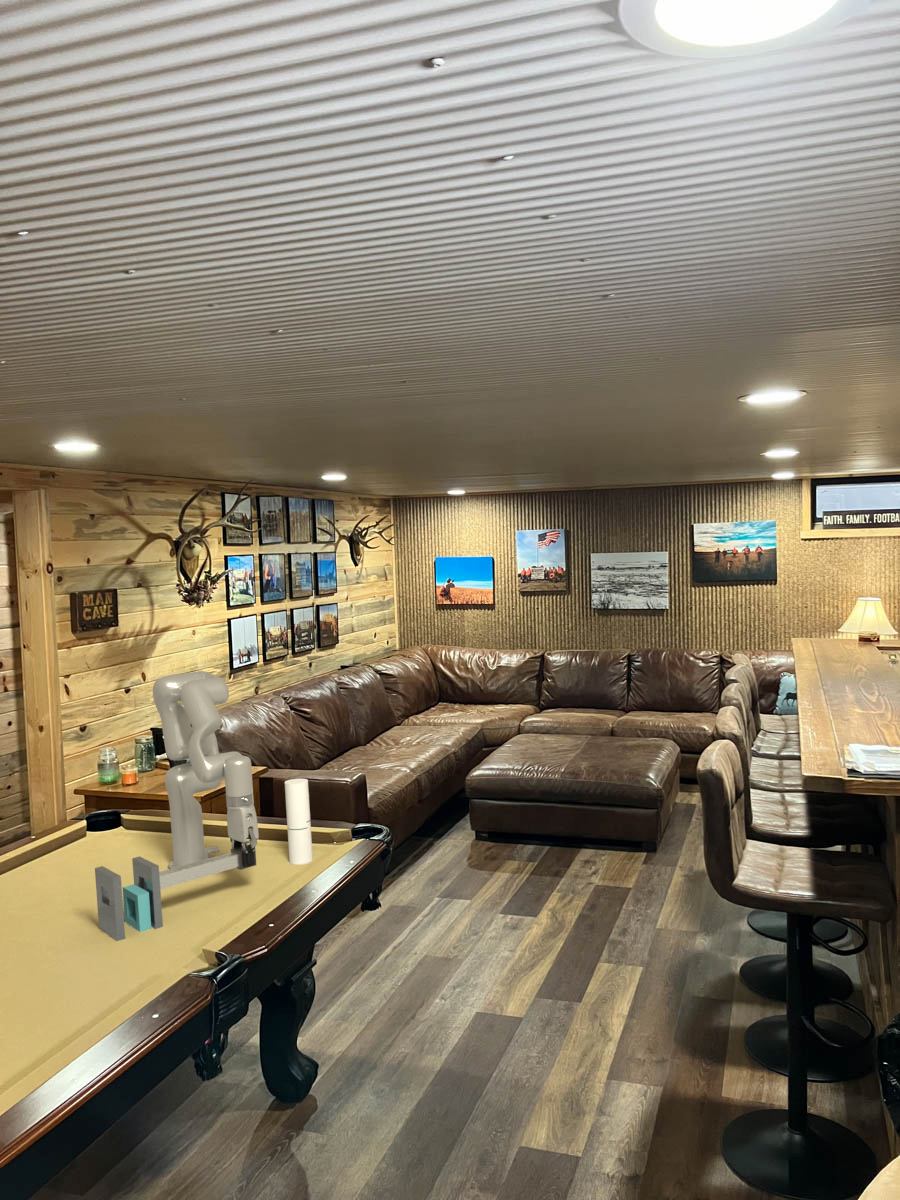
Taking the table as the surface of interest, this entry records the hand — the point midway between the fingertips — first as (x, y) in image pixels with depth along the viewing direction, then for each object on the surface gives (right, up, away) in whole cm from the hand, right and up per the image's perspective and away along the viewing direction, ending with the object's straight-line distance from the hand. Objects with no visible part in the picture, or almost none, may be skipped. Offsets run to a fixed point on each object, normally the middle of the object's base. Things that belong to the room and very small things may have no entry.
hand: (244, 863), depth 261 cm
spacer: (-23, -10, -21) cm, 33 cm away
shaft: (-10, -2, -9) cm, 13 cm away
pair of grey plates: (-24, -11, -22) cm, 34 cm away
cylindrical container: (+12, -7, +25) cm, 29 cm away
